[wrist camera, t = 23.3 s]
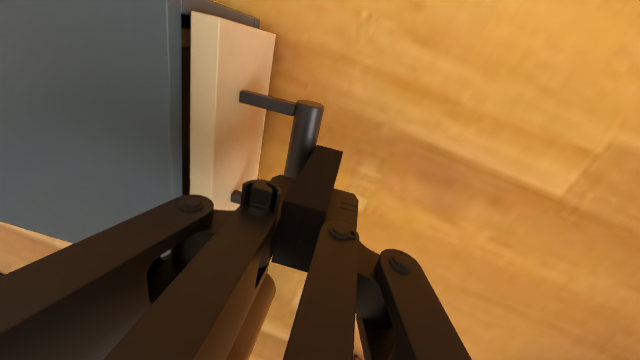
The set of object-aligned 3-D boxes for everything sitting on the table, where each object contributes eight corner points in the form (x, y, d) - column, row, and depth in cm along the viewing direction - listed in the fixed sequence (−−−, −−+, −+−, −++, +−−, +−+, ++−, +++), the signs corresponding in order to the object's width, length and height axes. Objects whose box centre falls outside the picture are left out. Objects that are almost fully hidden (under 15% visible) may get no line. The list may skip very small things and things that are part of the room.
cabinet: (259, 19, 17) (166, -17, 9) (241, 201, 23) (174, 274, 15) (22, -38, 18) (-246, -115, 10) (63, 151, 24) (-87, 195, 16)
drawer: (344, 50, 16) (330, 44, 10) (305, 220, 21) (279, 284, 15) (44, -22, 17) (-137, -70, 11) (78, 156, 22) (-31, 191, 16)
